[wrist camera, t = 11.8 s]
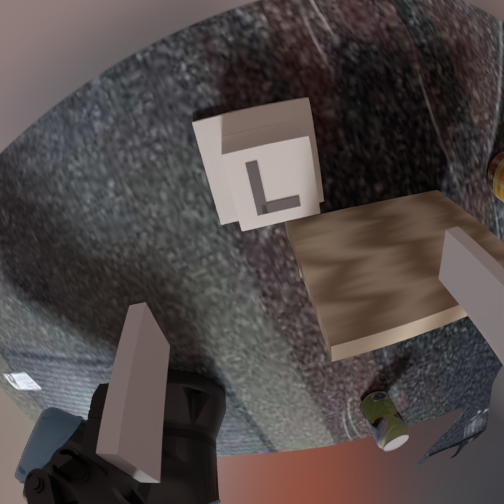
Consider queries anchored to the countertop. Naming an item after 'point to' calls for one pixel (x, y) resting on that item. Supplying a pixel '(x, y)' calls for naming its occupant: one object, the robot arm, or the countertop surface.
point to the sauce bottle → (497, 176)
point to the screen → (381, 269)
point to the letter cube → (270, 175)
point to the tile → (242, 121)
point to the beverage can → (384, 420)
